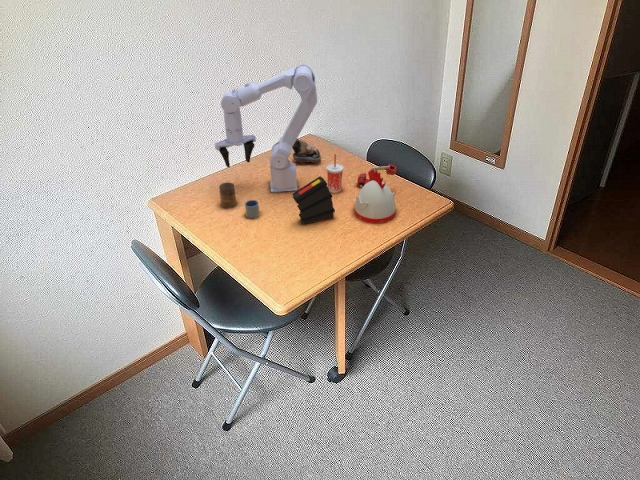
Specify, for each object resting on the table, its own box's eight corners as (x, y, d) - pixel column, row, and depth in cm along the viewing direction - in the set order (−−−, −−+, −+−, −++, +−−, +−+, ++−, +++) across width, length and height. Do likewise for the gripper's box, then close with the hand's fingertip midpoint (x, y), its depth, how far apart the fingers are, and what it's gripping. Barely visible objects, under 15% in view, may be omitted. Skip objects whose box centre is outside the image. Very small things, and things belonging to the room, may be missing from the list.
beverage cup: (334, 195, 174) (334, 160, 166) (322, 189, 177) (322, 154, 169) (346, 190, 177) (347, 154, 169) (335, 183, 181) (335, 149, 173)
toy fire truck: (358, 182, 181) (360, 159, 176) (394, 189, 177) (397, 165, 172) (356, 186, 179) (357, 162, 173) (392, 193, 175) (394, 169, 169)
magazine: (343, 212, 161) (325, 180, 151) (309, 234, 161) (289, 202, 151) (339, 207, 164) (321, 174, 154) (306, 228, 164) (286, 196, 154)
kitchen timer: (378, 197, 172) (381, 159, 164) (403, 215, 163) (408, 175, 154) (346, 208, 166) (347, 169, 158) (370, 227, 157) (373, 186, 148)
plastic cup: (259, 210, 165) (258, 199, 163) (259, 217, 162) (258, 206, 159) (246, 211, 165) (244, 200, 162) (246, 218, 161) (245, 207, 159)
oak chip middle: (231, 193, 171) (230, 187, 169) (238, 199, 167) (237, 193, 166) (217, 197, 168) (217, 191, 167) (225, 203, 165) (224, 197, 163)
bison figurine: (320, 157, 198) (320, 134, 192) (321, 165, 193) (321, 141, 187) (291, 158, 198) (290, 135, 192) (291, 166, 192) (290, 142, 186)
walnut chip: (235, 188, 169) (234, 182, 167) (235, 195, 164) (234, 189, 163) (220, 189, 168) (219, 183, 167) (219, 196, 164) (218, 190, 162)
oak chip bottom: (236, 200, 171) (235, 194, 170) (236, 207, 167) (235, 201, 166) (221, 201, 171) (220, 195, 169) (221, 208, 167) (220, 202, 165)
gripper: (217, 136, 160) (222, 173, 168) (258, 127, 166) (261, 163, 174) (210, 128, 165) (215, 165, 173) (249, 120, 171) (253, 155, 179)
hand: (237, 163), depth 174 cm, fingers open, 7 cm apart
